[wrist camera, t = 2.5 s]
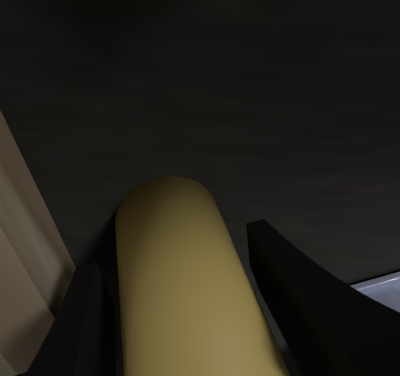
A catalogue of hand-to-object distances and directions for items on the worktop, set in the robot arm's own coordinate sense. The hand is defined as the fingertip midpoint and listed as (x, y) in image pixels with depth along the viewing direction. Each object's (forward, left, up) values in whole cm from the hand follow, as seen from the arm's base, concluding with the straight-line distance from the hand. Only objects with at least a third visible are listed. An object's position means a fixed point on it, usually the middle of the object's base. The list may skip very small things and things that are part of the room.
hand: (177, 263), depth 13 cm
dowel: (0, 0, -2) cm, 2 cm away
